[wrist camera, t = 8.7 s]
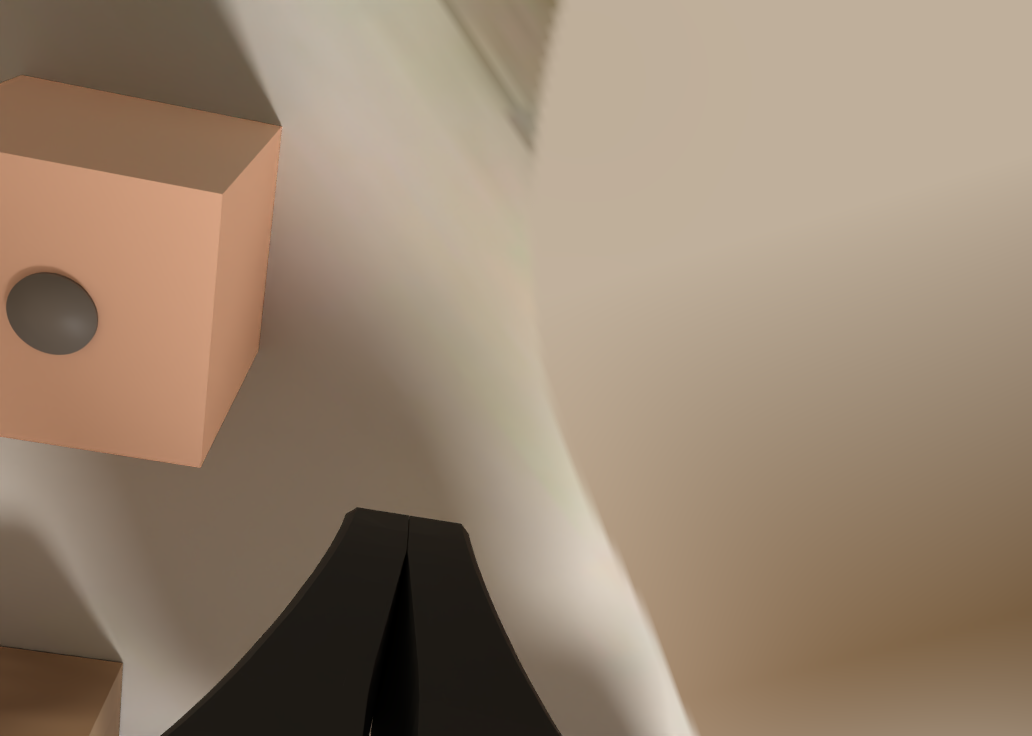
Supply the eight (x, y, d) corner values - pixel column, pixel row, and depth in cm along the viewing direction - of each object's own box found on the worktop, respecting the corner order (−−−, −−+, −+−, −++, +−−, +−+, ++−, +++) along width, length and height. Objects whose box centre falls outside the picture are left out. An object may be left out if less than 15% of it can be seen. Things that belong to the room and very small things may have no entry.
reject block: (282, 125, 20) (221, 195, 15) (259, 349, 22) (198, 471, 17) (23, 74, 19) (-124, 131, 14) (24, 308, 21) (-103, 423, 16)
